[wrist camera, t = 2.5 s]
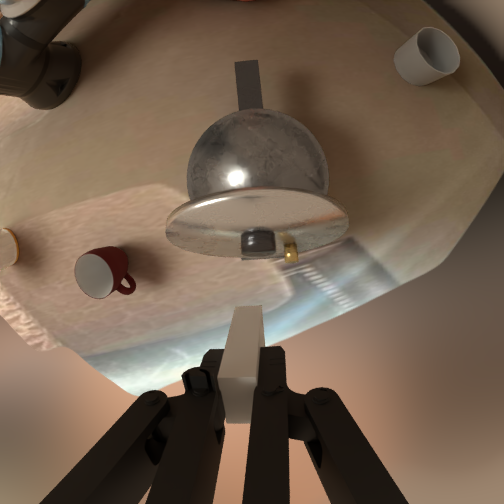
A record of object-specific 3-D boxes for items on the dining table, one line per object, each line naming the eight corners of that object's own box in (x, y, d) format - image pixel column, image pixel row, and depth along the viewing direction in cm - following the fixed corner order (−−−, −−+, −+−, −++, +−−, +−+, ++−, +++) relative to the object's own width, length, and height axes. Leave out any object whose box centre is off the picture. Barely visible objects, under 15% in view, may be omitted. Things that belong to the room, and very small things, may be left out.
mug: (155, 261, 55) (133, 280, 46) (137, 293, 58) (115, 316, 48) (111, 230, 54) (83, 243, 45) (96, 263, 56) (69, 281, 47)
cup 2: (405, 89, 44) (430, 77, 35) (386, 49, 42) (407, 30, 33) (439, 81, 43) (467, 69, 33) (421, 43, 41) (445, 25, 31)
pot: (194, 86, 47) (177, 69, 37) (307, 74, 45) (316, 55, 35) (210, 244, 54) (197, 262, 44) (321, 236, 52) (332, 252, 43)
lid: (134, 199, 25) (131, 234, 24) (367, 179, 23) (374, 215, 22) (196, 256, 44) (197, 277, 43) (331, 246, 43) (333, 268, 42)
